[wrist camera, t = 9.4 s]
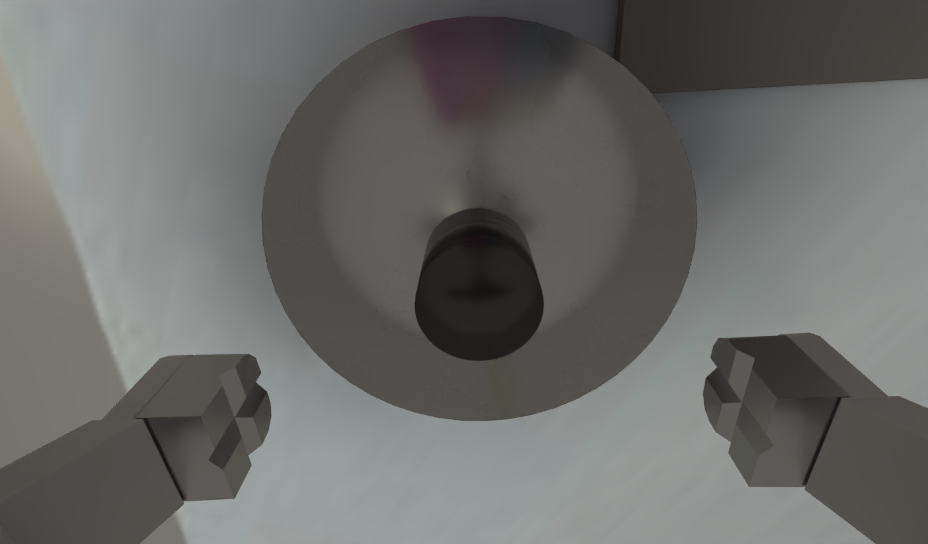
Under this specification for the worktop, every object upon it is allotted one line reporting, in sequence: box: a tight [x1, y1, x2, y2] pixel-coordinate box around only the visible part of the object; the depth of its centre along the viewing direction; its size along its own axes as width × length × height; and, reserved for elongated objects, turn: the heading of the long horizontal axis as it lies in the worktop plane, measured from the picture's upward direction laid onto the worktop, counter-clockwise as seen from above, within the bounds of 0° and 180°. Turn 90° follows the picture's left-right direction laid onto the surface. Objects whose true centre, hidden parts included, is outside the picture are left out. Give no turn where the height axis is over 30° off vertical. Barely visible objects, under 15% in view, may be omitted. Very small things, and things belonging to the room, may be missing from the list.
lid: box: [262, 16, 697, 421], centre depth 13 cm, size 13×13×4 cm
